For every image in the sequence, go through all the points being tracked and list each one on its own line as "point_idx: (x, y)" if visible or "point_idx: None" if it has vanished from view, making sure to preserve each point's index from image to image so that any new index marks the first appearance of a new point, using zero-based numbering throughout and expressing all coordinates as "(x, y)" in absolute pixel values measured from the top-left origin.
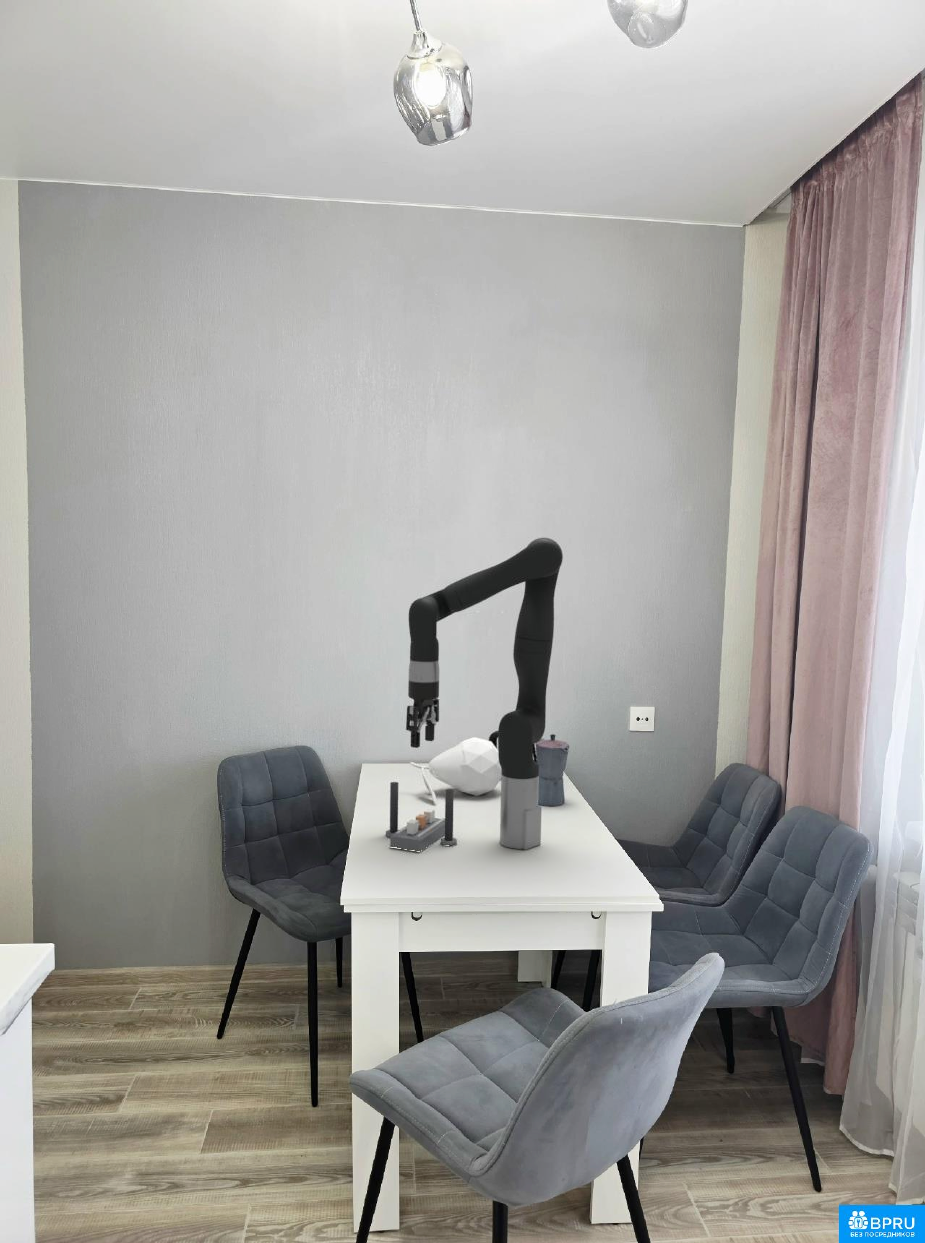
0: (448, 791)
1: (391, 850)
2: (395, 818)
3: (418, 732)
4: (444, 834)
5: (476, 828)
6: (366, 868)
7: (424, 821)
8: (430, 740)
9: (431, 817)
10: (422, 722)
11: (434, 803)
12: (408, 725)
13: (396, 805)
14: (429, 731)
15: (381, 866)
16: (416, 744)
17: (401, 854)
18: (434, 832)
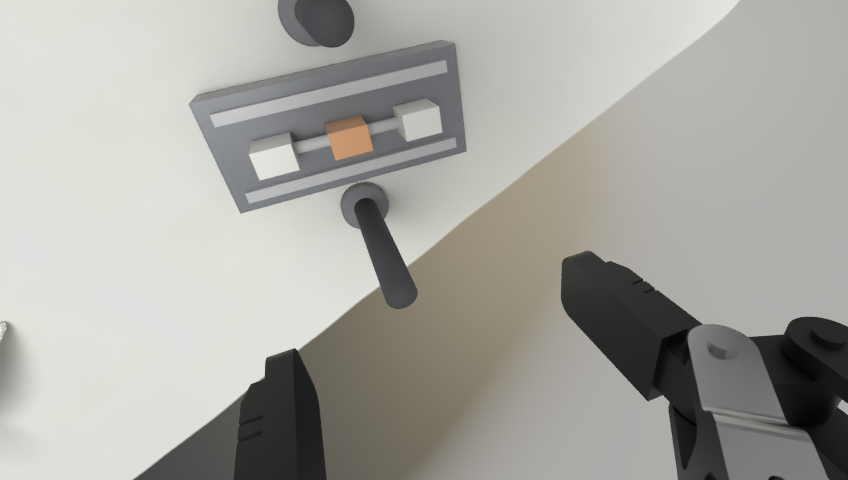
0: (351, 12)
1: (464, 126)
2: (379, 218)
3: (709, 327)
4: (246, 84)
5: (60, 27)
6: (599, 87)
7: (345, 124)
8: (301, 363)
9: (280, 139)
10: (782, 426)
11: (5, 328)
12: (836, 421)
13: (386, 237)
14: (312, 446)
15: (576, 64)
16: (617, 267)
17: (478, 81)
18: (340, 68)
